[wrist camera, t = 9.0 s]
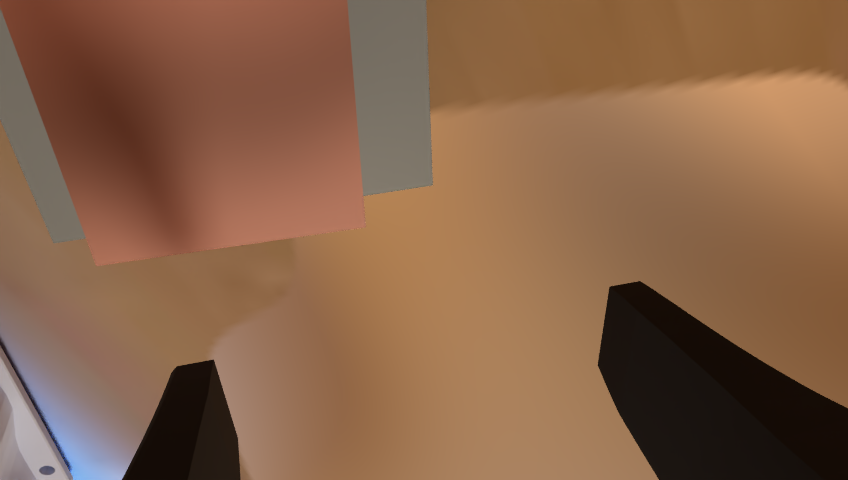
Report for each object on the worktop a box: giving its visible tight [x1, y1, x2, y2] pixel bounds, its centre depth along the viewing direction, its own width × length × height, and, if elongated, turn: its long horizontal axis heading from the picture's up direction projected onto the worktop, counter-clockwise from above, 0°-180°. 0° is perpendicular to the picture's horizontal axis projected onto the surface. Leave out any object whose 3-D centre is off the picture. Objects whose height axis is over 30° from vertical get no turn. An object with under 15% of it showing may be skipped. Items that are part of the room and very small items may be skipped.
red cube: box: [0, 0, 366, 266], centre depth 14 cm, size 5×5×5 cm
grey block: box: [0, 0, 433, 243], centre depth 17 cm, size 10×10×4 cm
